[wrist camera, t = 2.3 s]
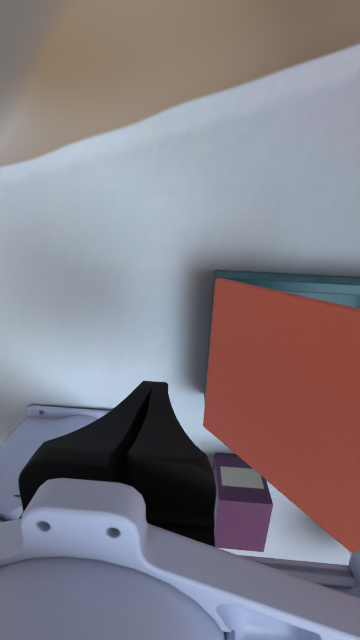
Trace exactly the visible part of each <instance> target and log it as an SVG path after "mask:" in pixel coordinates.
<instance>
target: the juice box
mask: <svg viewBox="0 0 360 640" xmlns="http://www.w3.org/2000/svg"><path fill="white" fill-rule="evenodd" d="M213 475H214V478H215V483H216V502H215V511H214V520H215V528H214V536H215V547H216V548H226V549H237V550H248V551H258V552H264V547H265V542H266V537H267V532H268V527H269V522H270V517H271V512H272V507H273V503H272V499H271V496H270V492H269V489H268V485H267V482H266V479H265V478H264V477H262V476H261V475H260V474H259V473H258V472H256V471H255V470H254V469H253V468H252V467H251V466H249V465H248V464H247V463H246V462H245V461H244V460H242V459H241V458H240V457H239V456H238V455H231V454H218V453H215V457H214V466H213Z"/></svg>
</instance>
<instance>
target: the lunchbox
mask: <svg viewBox="0 0 360 640" xmlns="http://www.w3.org/2000/svg"><path fill="white" fill-rule="evenodd" d="M217 278H224V279H228V280H233V281H238V282H242V283H247V284H251V285H256V286H260V287H265V288H269V289H274V290H279V291H283V292H288V293H292V294H297V295H301V296H306V297H310V298H315V299H320V300H324V301H329V302H333V303H338V304H342V305H347V306H351V307H356V308H360V277H341V276H322V275H303V274H283V273H264V272H244V271H225V270H215V271H214V283H213V296H212V308H211V320H210V332H209V344H208V356H207V368H206V381H205V393H204V398H206V386H207V374H208V363H209V351H210V339H211V327H212V315H213V303H214V291H215V279H217Z"/></svg>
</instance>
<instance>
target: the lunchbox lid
mask: <svg viewBox="0 0 360 640" xmlns="http://www.w3.org/2000/svg"><path fill="white" fill-rule="evenodd" d="M203 426H204V427H205V428H206V429H207V430H209V431H210V432H211V433H212V434H213V435H214V436H216V437H217V438H218V439H219V440H220V441H221V442H223V443H224V444H225V445H226V446H227V447H228V448H230V449H231V450H232V451H233V452H234V453H235V454H237V455H238V456H239V457H240V458H241V459H242V460H244V461H245V462H246V463H247V464H248V465H249V466H251V467H252V468H253V469H254V470H255V471H256V472H258V473H259V474H260V475H261V476H262V477H264V478H265V479H266V480H267V481H268V482H269V483H271V484H272V485H273V486H274V487H275V488H276V489H278V490H279V491H280V492H281V493H282V494H283V495H285V496H286V497H287V498H288V499H289V500H290V501H292V502H293V503H294V504H295V505H296V506H297V507H299V508H300V509H301V510H302V511H303V512H304V513H306V514H307V515H308V516H309V517H310V518H311V519H313V520H314V521H315V522H316V523H317V524H318V525H320V526H321V527H322V528H323V529H324V530H325V531H327V532H328V533H329V534H330V535H331V536H332V537H334V538H335V539H336V540H337V541H338V542H339V543H341V544H342V545H343V546H344V547H345V548H346V549H348V550H349V551H350V552H351V553H352V554H353V553H354V552H355V551H357V550H360V308H356V307H351V306H347V305H342V304H338V303H333V302H329V301H324V300H320V299H315V298H310V297H306V296H301V295H297V294H292V293H288V292H283V291H279V290H274V289H269V288H265V287H260V286H256V285H251V284H247V283H242V282H238V281H233V280H228V279H224V278H217V279H215V291H214V303H213V315H212V327H211V339H210V351H209V363H208V374H207V386H206V398H205V410H204V422H203Z"/></svg>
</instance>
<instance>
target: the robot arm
mask: <svg viewBox="0 0 360 640" xmlns="http://www.w3.org/2000/svg"><path fill="white" fill-rule="evenodd" d="M41 410H42V411H43V412H42V411H41ZM26 412H27V417H26V418H25V420H24V421H23V422H22V423H21V424H20V425H19V426H18V427H17V428H16V429H15V430H14V432H13V433H12V434H11V435H10V436H9V437H8V438H7V439H6V440H5V441H4V442H3V444H2V445H1V446H0V640H360V550H357V551H355V552H354V553H353V554H352V556H351V558H350V561H349V566H348V565H338V564H327V563H316V562H306V561H295V560H285V559H274V558H263V557H253V556H242V555H235V554H233V553H230V552H227V551H224V550H221V549H219V548H216V547H215V536H214V528H215V520H214V511H215V502H216V483H215V478H214V475H213V471H212V468H211V465H210V462H209V460H208V457H207V455H206V454H205V453H203V452H202V451H201V450H200V449H199V448H198V447H197V446H196V445H195V444H194V443H193V442H192V441H191V440H190V438H189V437H188V436H187V434H186V433H185V432H184V430H183V428H182V427H181V425H180V423H179V422H178V420H177V418H176V416H175V413H174V411H173V409H172V406H171V403H170V399H169V395H168V384H167V383H166V382H152V381H143V382H142V383H141V384H140V385H139V386H138V387H137V388H136V389H135V390H134V391H133V392H132V393H131V394H130V395H129V396H128V397H126V398H125V399H124V400H123V401H122V402H121V403H120V404H118V405H117V406H116V407H115V408H114V409H112V410H111V411H104V410H91V409H77V408H63V407H50V406H36V405H31V406H29V407H28V408H27V409H26Z"/></svg>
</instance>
